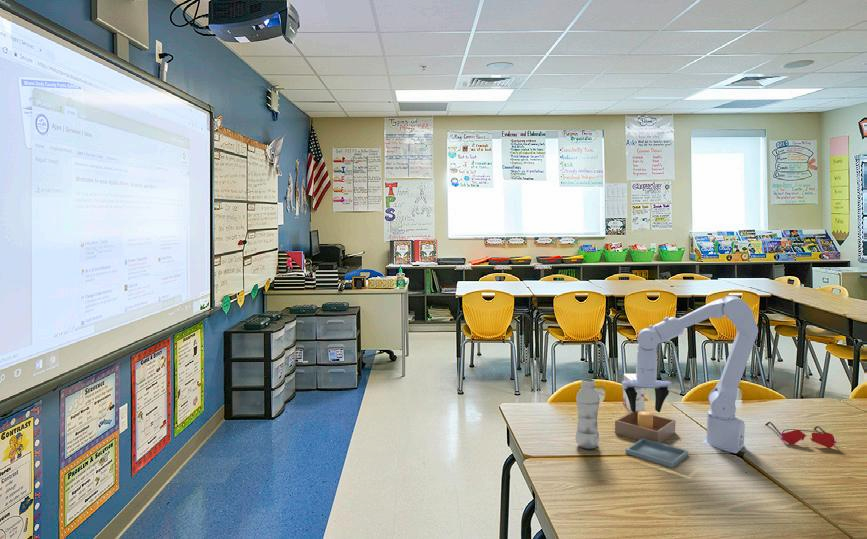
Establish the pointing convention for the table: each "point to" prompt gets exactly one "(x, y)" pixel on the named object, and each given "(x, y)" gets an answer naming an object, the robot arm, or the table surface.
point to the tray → (657, 452)
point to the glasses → (797, 435)
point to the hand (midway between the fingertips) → (645, 411)
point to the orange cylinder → (645, 420)
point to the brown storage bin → (631, 429)
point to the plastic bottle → (587, 415)
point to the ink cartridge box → (639, 393)
